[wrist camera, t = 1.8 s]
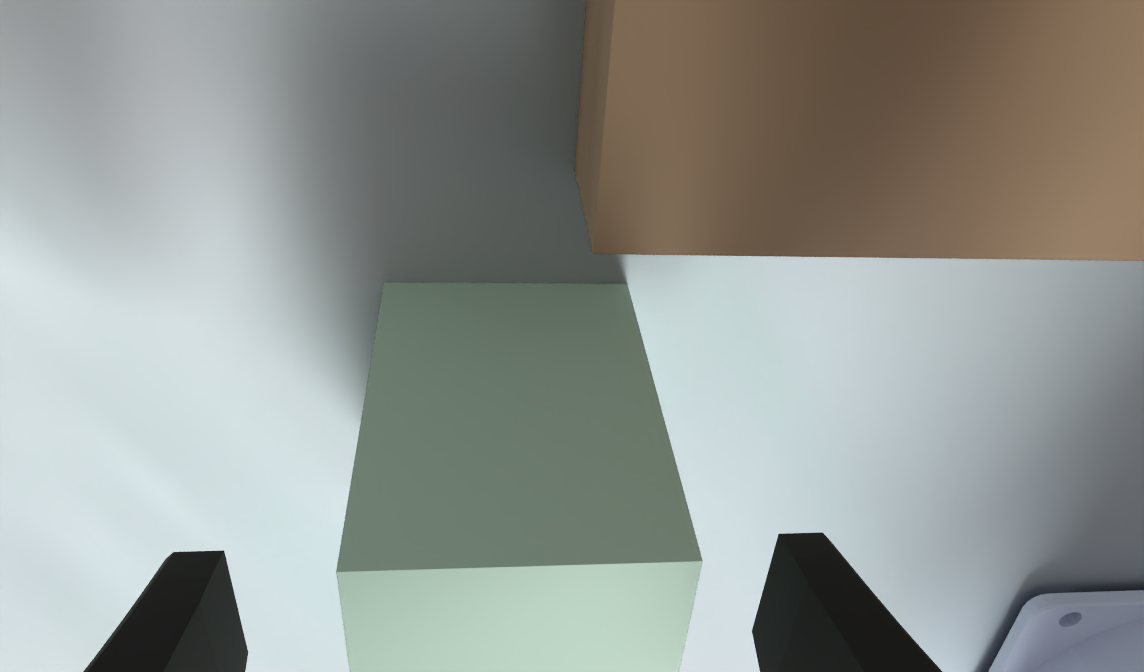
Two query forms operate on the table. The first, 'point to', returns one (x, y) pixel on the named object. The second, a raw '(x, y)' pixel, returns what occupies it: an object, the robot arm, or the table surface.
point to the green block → (514, 489)
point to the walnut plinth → (863, 128)
